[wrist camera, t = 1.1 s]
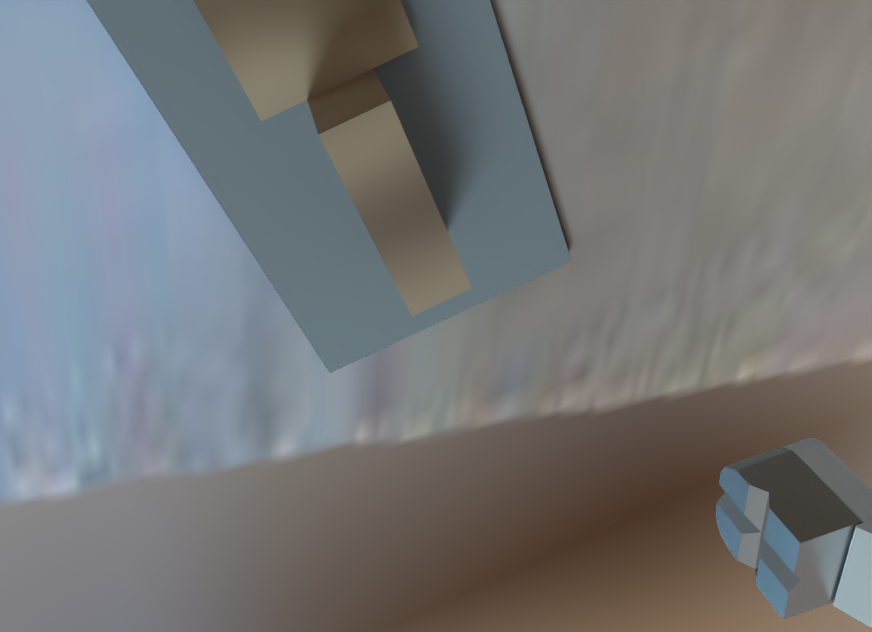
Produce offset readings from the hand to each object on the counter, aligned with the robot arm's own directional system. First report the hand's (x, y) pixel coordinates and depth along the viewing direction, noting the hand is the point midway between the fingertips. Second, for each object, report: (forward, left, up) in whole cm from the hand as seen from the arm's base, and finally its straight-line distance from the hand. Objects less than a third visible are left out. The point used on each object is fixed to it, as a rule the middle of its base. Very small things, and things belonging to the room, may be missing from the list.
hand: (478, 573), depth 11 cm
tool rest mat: (-1, +1, -21) cm, 21 cm away
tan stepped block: (-1, 0, -20) cm, 20 cm away
